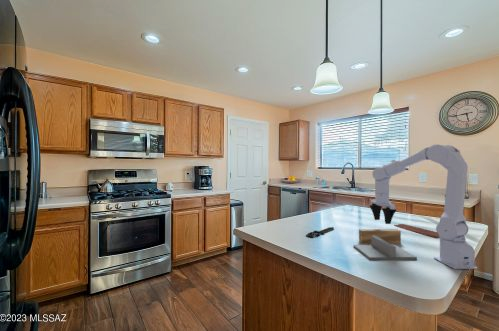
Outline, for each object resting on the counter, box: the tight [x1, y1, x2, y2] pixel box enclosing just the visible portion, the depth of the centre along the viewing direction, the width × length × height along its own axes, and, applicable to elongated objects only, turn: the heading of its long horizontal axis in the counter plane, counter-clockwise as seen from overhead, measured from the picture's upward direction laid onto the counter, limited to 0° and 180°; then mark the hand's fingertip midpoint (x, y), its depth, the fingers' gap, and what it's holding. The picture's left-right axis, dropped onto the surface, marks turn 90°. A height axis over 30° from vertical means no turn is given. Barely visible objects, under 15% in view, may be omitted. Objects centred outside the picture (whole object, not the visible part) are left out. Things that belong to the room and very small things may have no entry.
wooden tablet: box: [394, 223, 440, 239], centre depth 127 cm, size 27×10×2 cm, turn 15°
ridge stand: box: [353, 236, 418, 261], centre depth 95 cm, size 14×18×5 cm
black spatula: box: [305, 226, 335, 239], centre depth 125 cm, size 25×6×1 cm, turn 126°
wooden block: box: [358, 228, 402, 245], centre depth 108 cm, size 3×18×6 cm, turn 90°
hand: (382, 221), depth 109 cm, fingers open, 7 cm apart
